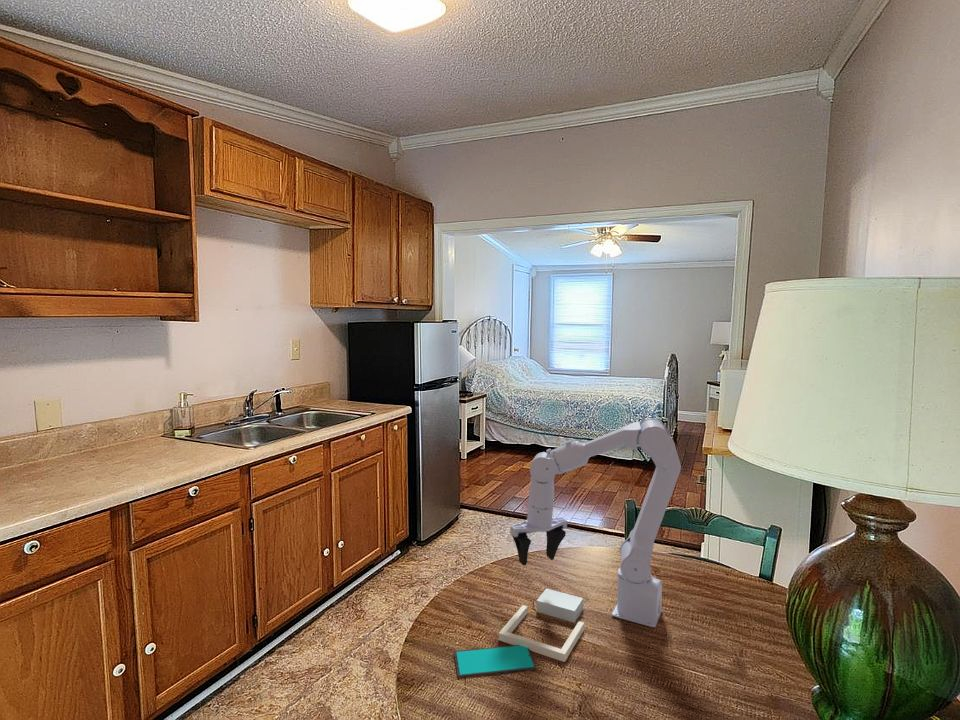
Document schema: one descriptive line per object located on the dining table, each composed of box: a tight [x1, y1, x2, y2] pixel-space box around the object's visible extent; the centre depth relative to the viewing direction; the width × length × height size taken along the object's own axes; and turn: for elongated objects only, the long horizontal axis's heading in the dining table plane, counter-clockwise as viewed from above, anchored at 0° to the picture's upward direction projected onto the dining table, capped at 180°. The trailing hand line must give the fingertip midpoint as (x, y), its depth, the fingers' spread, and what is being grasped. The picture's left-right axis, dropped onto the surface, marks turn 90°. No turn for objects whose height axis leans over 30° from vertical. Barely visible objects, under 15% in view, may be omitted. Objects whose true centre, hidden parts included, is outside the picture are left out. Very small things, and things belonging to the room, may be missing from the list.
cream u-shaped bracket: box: [498, 604, 585, 663], centre depth 112 cm, size 14×12×2 cm
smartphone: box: [453, 645, 536, 679], centre depth 103 cm, size 7×1×15 cm
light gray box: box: [536, 588, 584, 624], centre depth 121 cm, size 9×6×3 cm, turn 61°
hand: (536, 560), depth 124 cm, fingers open, 7 cm apart
